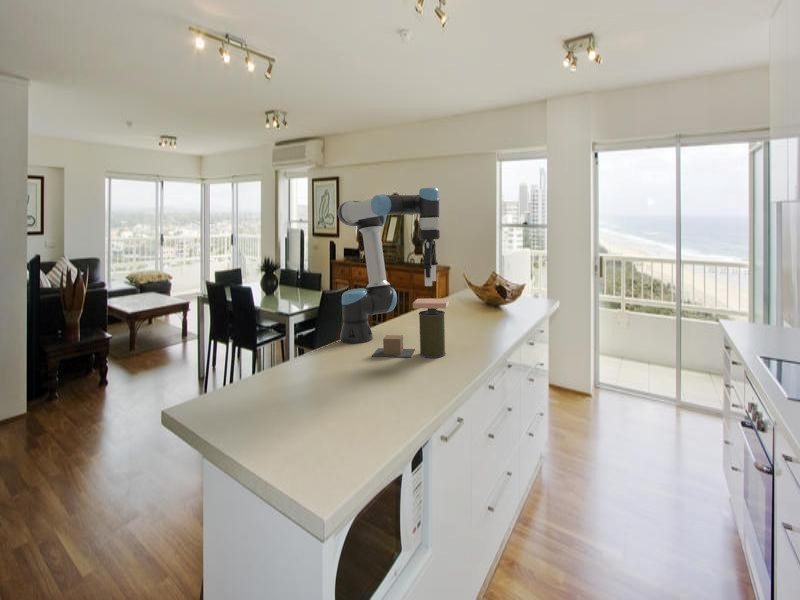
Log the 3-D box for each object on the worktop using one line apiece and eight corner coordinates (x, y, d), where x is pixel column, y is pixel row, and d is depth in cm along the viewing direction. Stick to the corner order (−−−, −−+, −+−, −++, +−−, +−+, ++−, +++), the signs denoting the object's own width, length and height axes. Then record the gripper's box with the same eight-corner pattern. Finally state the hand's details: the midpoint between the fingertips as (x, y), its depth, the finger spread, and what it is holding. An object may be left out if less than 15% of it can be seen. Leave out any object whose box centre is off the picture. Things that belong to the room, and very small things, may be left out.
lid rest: (371, 357, 174) (370, 340, 173) (378, 349, 185) (377, 333, 184) (410, 358, 171) (410, 341, 170) (415, 350, 182) (414, 334, 181)
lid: (412, 308, 168) (412, 303, 168) (417, 303, 179) (417, 298, 178) (446, 308, 165) (446, 303, 165) (448, 303, 176) (448, 298, 176)
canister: (444, 358, 169) (443, 308, 166) (418, 357, 171) (416, 308, 168) (446, 350, 180) (446, 303, 176) (422, 350, 182) (420, 303, 178)
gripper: (424, 228, 180) (425, 279, 183) (414, 230, 156) (416, 288, 159) (442, 228, 178) (443, 279, 182) (435, 229, 154) (436, 288, 158)
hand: (430, 283), depth 171 cm, fingers open, 13 cm apart
